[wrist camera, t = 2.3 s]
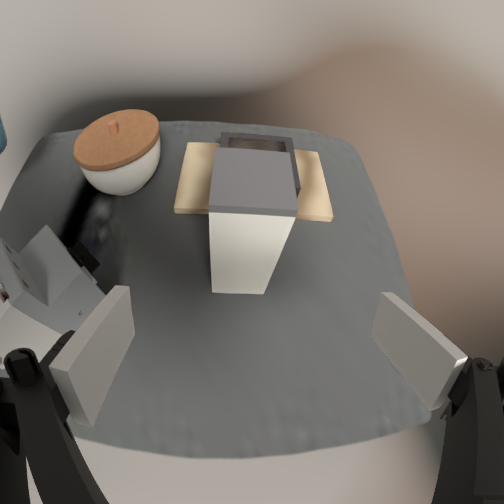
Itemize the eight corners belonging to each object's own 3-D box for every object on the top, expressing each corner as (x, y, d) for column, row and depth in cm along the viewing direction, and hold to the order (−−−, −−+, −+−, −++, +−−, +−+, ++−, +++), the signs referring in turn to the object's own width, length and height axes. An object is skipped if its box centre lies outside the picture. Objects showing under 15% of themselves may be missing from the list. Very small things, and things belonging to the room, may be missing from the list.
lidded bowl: (77, 199, 36) (51, 147, 26) (119, 147, 42) (106, 96, 33) (140, 220, 35) (120, 160, 26) (179, 160, 42) (175, 102, 32)
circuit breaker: (131, 302, 30) (78, 232, 17) (59, 382, 23) (-28, 359, 10) (96, 264, 31) (43, 187, 18) (30, 338, 25) (-49, 294, 12)
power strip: (212, 292, 32) (208, 205, 18) (214, 244, 35) (215, 144, 21) (263, 294, 32) (298, 210, 18) (261, 246, 35) (289, 149, 22)
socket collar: (215, 200, 37) (216, 182, 34) (220, 149, 42) (221, 132, 39) (294, 205, 38) (300, 188, 35) (287, 154, 43) (291, 137, 40)
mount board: (174, 213, 36) (173, 207, 35) (188, 147, 43) (187, 142, 42) (330, 221, 39) (333, 217, 38) (315, 157, 46) (317, 152, 44)
